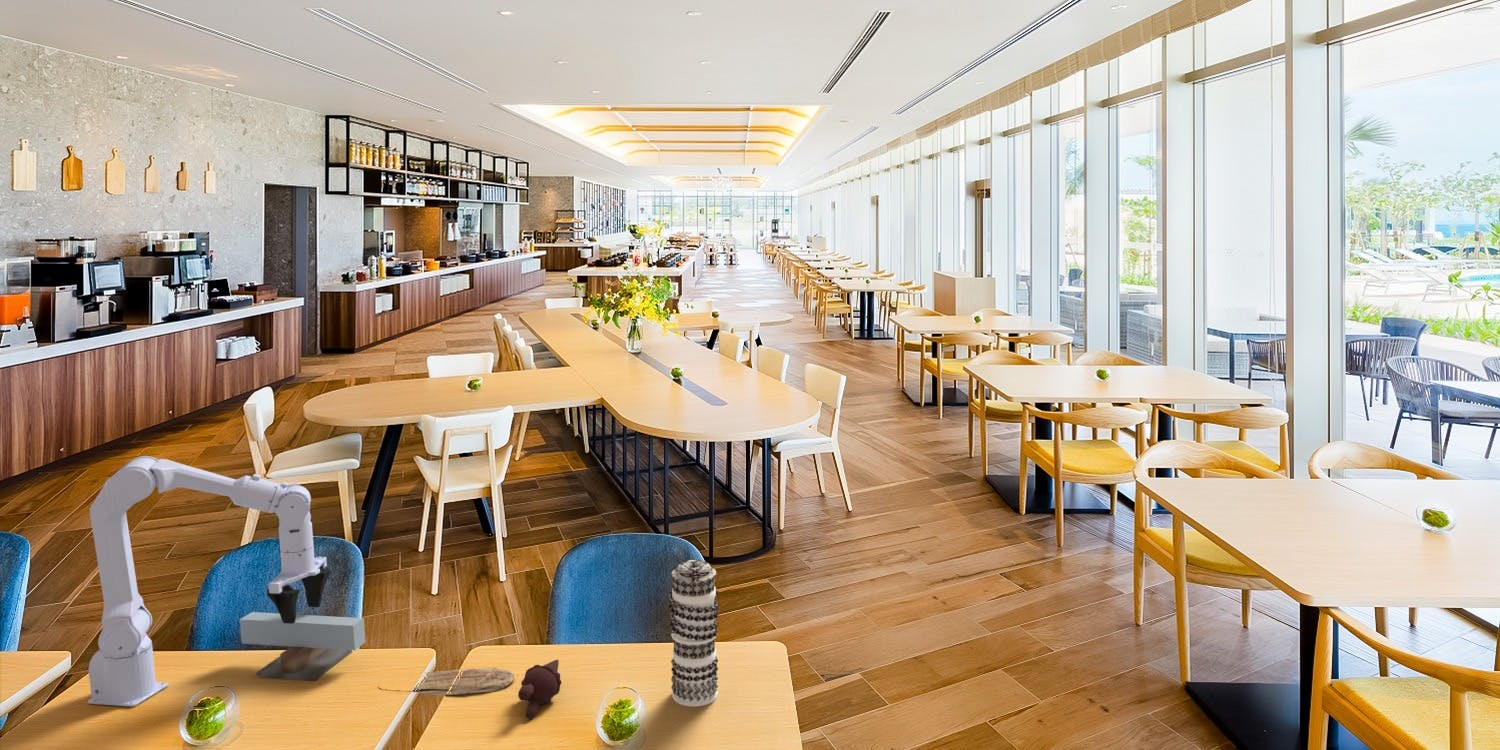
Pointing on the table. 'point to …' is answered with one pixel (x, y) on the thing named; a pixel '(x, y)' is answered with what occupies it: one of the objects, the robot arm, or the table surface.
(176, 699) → the table surface
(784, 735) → the table surface
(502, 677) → the fish fossil
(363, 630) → the batten
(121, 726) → the table surface
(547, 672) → the icecream
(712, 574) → the white patterned cylinder
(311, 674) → the fulcrum
